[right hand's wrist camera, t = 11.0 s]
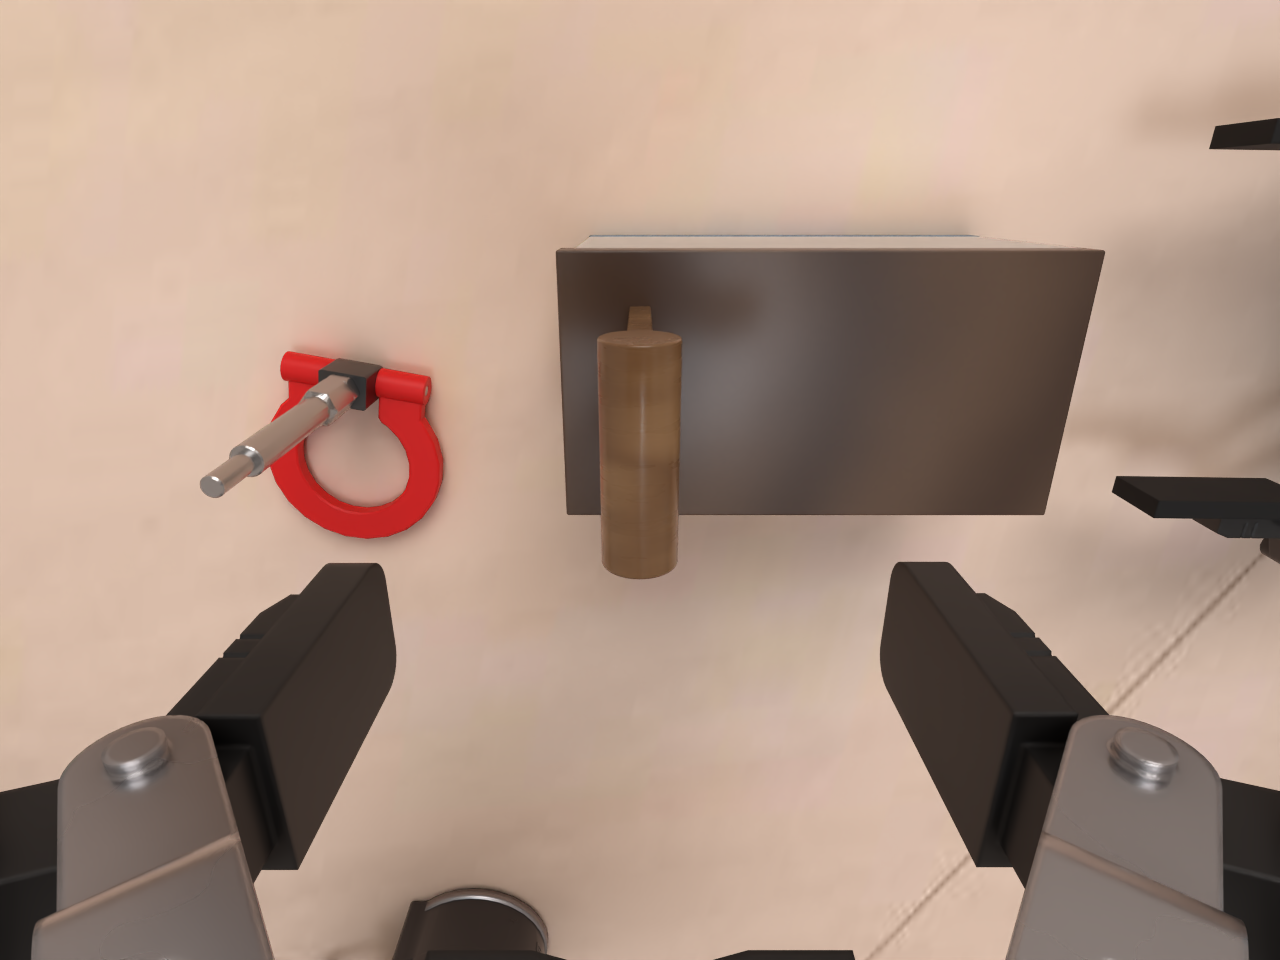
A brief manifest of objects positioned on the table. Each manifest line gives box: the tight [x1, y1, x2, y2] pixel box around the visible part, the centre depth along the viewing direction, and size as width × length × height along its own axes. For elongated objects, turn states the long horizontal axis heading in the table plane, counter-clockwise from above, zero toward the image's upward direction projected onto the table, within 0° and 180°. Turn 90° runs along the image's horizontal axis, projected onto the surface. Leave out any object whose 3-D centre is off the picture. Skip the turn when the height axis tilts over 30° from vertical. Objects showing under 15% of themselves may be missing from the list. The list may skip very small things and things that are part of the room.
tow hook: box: [200, 351, 443, 539], centre depth 30 cm, size 8×13×9 cm
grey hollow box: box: [575, 235, 1078, 248], centre depth 29 cm, size 17×9×9 cm, turn 90°
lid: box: [556, 248, 1105, 579], centre depth 21 cm, size 18×9×9 cm, turn 90°
